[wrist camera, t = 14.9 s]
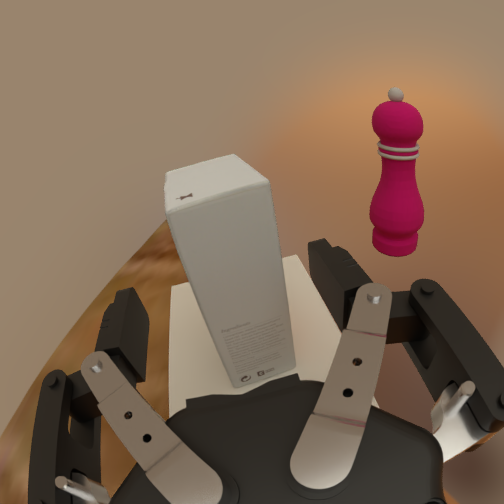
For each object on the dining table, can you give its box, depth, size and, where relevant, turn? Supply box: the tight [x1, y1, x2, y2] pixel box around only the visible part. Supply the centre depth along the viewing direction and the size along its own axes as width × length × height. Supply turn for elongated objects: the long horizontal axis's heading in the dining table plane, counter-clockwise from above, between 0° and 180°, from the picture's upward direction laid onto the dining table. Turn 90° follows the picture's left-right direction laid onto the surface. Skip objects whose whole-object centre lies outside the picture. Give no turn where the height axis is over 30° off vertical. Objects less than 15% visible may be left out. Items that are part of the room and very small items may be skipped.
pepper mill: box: [369, 88, 424, 257], centre depth 30 cm, size 7×7×20 cm
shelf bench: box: [169, 255, 379, 418], centre depth 21 cm, size 12×18×6 cm, turn 11°
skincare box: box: [164, 154, 296, 388], centre depth 16 cm, size 6×4×12 cm
